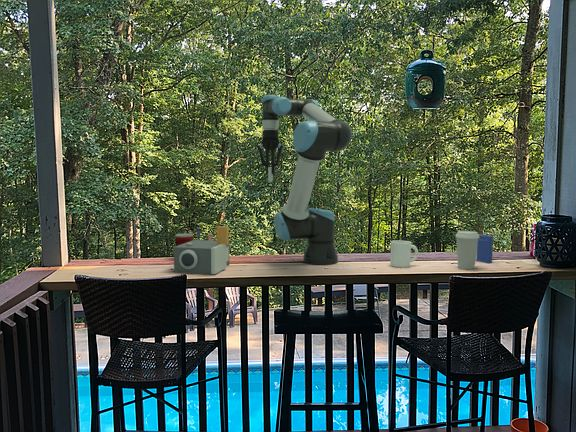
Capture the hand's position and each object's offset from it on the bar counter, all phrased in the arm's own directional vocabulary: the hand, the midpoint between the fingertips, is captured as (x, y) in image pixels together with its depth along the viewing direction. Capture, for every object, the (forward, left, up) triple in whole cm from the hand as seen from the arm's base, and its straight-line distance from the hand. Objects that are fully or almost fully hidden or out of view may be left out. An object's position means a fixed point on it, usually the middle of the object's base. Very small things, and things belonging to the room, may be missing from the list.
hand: (270, 181), depth 259 cm
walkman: (-95, -7, -35) cm, 101 cm away
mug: (-62, +12, -35) cm, 72 cm away
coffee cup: (-87, +10, -35) cm, 94 cm away
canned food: (+34, +21, -35) cm, 53 cm away
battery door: (+9, +44, -34) cm, 56 cm away
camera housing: (+18, +39, -34) cm, 55 cm away
